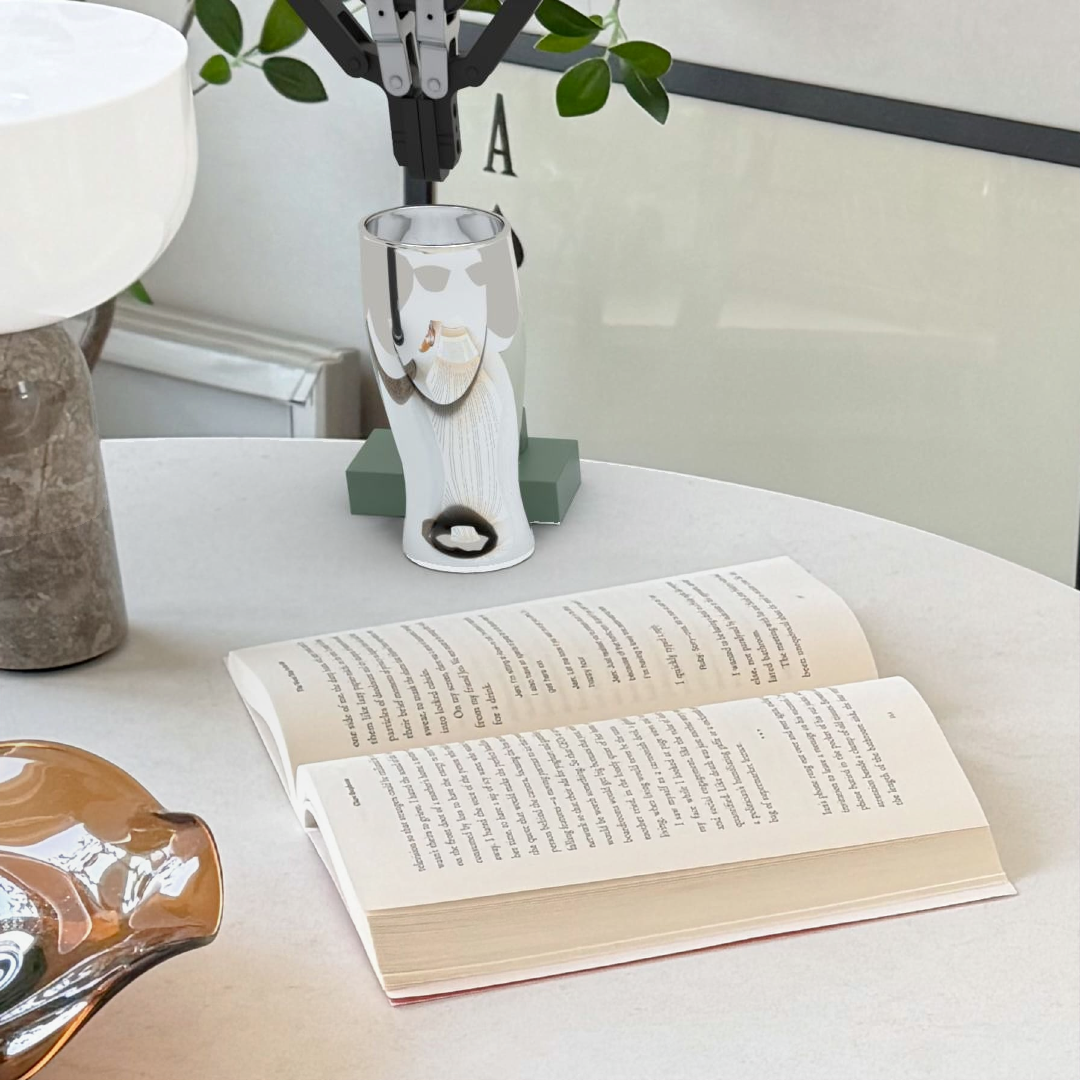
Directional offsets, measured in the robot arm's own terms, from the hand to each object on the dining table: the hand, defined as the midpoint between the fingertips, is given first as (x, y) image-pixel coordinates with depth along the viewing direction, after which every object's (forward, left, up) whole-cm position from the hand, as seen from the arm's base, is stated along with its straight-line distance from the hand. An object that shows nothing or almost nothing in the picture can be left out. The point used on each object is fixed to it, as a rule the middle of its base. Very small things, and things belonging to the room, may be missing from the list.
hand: (431, 176), depth 130 cm
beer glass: (+2, -8, -15) cm, 17 cm away
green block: (+1, -1, -15) cm, 15 cm away
